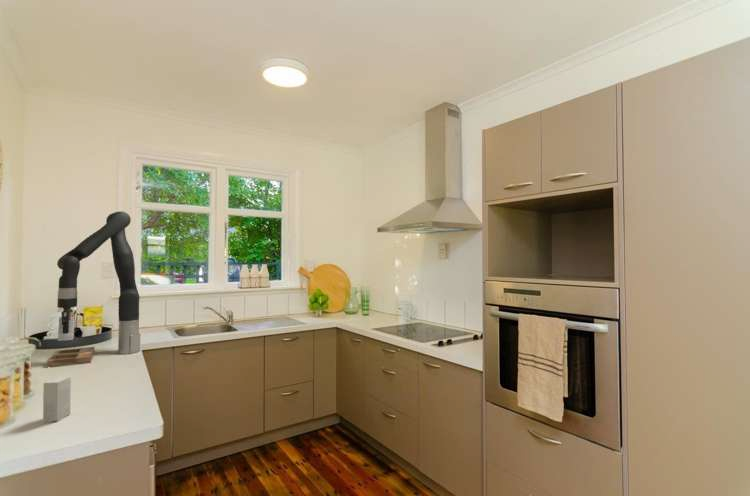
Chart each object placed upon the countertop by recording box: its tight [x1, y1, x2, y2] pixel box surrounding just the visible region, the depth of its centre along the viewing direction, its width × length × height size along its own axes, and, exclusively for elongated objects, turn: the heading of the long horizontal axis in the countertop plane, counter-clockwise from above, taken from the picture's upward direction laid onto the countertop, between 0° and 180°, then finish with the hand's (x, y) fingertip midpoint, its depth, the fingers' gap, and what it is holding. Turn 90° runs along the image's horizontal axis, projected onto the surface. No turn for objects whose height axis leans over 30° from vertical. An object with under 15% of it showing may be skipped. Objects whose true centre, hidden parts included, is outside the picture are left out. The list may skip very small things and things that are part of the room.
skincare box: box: [42, 376, 72, 423], centre depth 122 cm, size 6×4×12 cm
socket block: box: [47, 346, 95, 369], centre depth 194 cm, size 25×16×3 cm, turn 32°
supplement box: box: [57, 315, 76, 343], centre depth 188 cm, size 6×6×12 cm
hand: (66, 332), depth 188 cm, fingers closed on supplement box, 5 cm apart
